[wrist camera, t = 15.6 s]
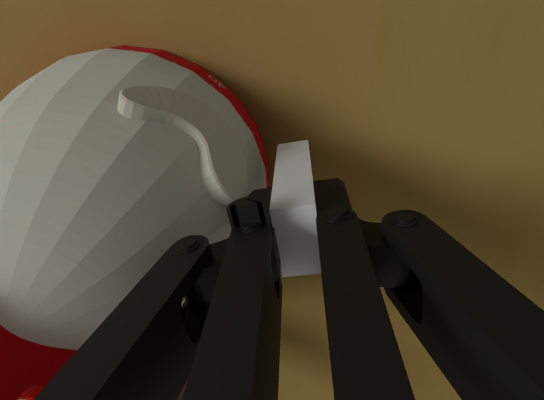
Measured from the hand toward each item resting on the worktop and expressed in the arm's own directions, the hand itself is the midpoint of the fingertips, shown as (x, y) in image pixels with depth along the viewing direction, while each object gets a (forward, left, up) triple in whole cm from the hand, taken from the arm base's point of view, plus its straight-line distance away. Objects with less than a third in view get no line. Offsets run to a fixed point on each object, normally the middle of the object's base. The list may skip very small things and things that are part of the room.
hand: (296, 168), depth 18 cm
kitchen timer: (+9, 0, -3) cm, 9 cm away
